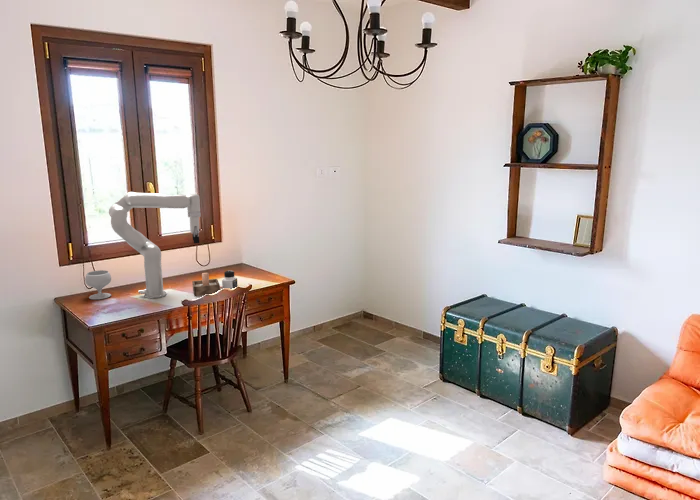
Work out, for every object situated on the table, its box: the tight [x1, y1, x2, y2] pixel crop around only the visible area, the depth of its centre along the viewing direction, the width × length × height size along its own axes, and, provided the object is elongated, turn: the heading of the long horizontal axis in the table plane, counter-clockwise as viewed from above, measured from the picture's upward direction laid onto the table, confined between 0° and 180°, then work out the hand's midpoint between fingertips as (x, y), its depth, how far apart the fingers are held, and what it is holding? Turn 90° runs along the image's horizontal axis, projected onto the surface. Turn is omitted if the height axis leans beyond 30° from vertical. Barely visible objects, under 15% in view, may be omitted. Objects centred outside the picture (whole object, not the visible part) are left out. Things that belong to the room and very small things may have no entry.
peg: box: [201, 272, 210, 286], centre depth 311 cm, size 4×4×12 cm
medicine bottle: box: [221, 270, 239, 289], centre depth 316 cm, size 7×7×12 cm
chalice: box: [84, 270, 112, 300], centre depth 301 cm, size 14×14×15 cm
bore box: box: [192, 278, 221, 297], centre depth 311 cm, size 15×14×6 cm
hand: (196, 241), depth 313 cm, fingers open, 9 cm apart
